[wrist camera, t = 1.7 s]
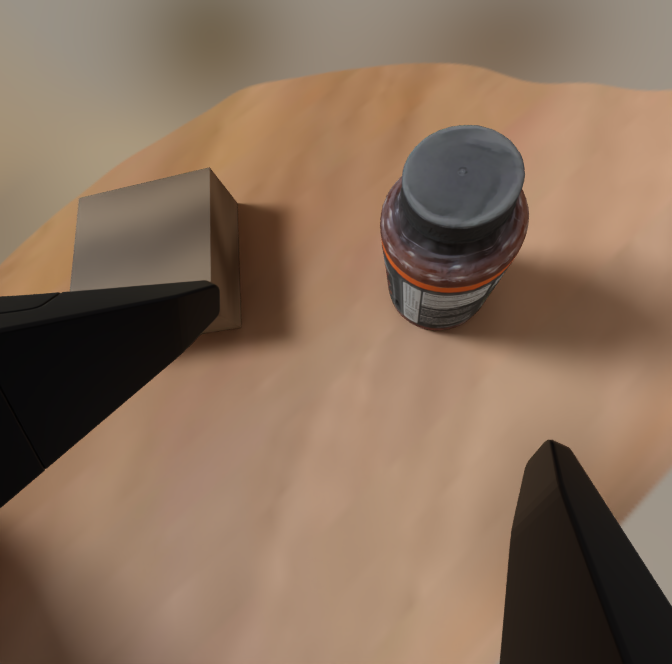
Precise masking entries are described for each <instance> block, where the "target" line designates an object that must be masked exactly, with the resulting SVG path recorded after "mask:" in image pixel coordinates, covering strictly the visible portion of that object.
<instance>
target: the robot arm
mask: <svg viewBox="0 0 672 664" xmlns="http://www.w3.org/2000/svg"><path fill="white" fill-rule="evenodd" d="M219 313H220V289H219V287H218V286H217V285H216V284H214V283H212V282H209V281H207V280H200V281H188V282H177V283H165V284H153V285H141V286H129V287H117V288H106V289H94V290H82V291H70V292H62V293H59V292H58V293H46V294H33V295H19V296H1V297H0V508H1V507H2V506H4V505H5V504H6V503H7V502H8V501H9V500H11V499H12V498H13V497H14V496H15V495H17V494H18V493H19V492H20V491H21V490H22V489H24V488H25V487H26V486H27V485H28V484H29V483H31V482H32V481H33V480H34V479H35V478H37V477H38V476H39V475H40V474H41V473H42V472H44V471H45V469H47V468H48V467H49V466H50V465H51V464H53V463H54V462H55V461H56V460H57V459H59V458H60V457H61V456H62V455H63V454H64V453H66V452H67V451H68V450H69V449H70V448H72V447H73V446H74V445H75V444H76V443H77V442H79V441H80V440H81V439H82V438H83V437H84V436H86V435H87V434H88V433H89V432H90V431H92V430H93V429H94V428H95V427H96V426H97V425H99V424H100V423H101V422H102V421H103V420H104V419H106V418H107V417H108V416H109V415H110V414H112V413H113V412H114V411H115V410H116V409H117V408H119V407H120V406H121V405H122V404H123V403H125V402H126V401H127V400H128V399H129V398H130V397H132V396H133V395H134V394H135V393H136V392H137V391H139V390H140V389H141V388H142V387H143V386H145V385H146V384H147V383H148V382H149V381H150V380H152V379H153V378H154V377H155V376H156V375H158V374H159V373H160V372H161V371H162V370H163V369H165V368H166V367H167V366H168V365H169V364H170V363H172V362H173V361H174V360H175V359H176V358H177V357H179V356H180V355H181V354H182V353H183V352H184V351H185V350H186V349H187V348H188V347H189V346H190V345H191V344H192V343H193V342H194V341H195V340H196V339H197V338H198V337H199V336H200V335H201V334H202V333H203V332H204V331H205V329H206V328H207V327H208V326H209V325H210V324H211V323H212V322H213V321H214V320H215V319H216V318H217V317H218V315H219ZM500 664H672V606H671V605H670V603H669V601H668V600H667V598H666V597H665V595H664V594H663V592H662V590H661V589H660V587H659V586H658V584H657V583H656V581H655V580H654V578H653V576H652V575H651V573H650V572H649V570H648V569H647V567H646V566H645V564H644V562H643V561H642V559H641V558H640V556H639V555H638V553H637V552H636V550H635V548H634V547H633V546H632V544H631V542H630V541H629V539H628V538H627V536H626V534H625V533H624V531H623V530H622V528H621V527H620V525H619V523H618V522H617V520H616V519H615V517H614V516H613V514H612V513H611V511H610V509H609V508H608V506H607V505H606V503H605V502H604V500H603V499H602V497H601V495H600V494H599V492H598V491H597V489H596V488H595V486H594V485H593V483H592V481H591V480H590V478H589V477H588V475H587V474H586V472H585V471H584V469H583V467H582V466H581V464H580V463H579V461H578V460H577V458H576V457H575V455H574V453H573V452H572V451H571V449H570V448H569V447H567V446H565V445H563V444H560V443H558V442H556V441H554V440H547V441H545V442H544V443H543V445H542V446H541V447H540V448H539V449H538V450H537V451H536V453H535V454H534V455H533V456H532V457H531V458H530V460H529V461H528V463H527V465H526V467H525V470H524V475H523V479H522V484H521V488H520V493H519V498H518V502H517V507H516V511H515V516H514V520H513V525H512V531H511V539H510V549H509V560H508V572H507V584H506V595H505V607H504V619H503V631H502V642H501V654H500Z"/></svg>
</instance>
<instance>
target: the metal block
mask: <svg viewBox="0 0 672 664" xmlns="http://www.w3.org/2000/svg"><path fill="white" fill-rule="evenodd" d="M200 280H207V281H209V282H212V283H214V284H216V285H217V286H218V287H219V289H220V313H219V315H218V317H217V318H216V319H215V320H214V321H213V322H212V323H211V324H210V325H209V326H208V327H207V328H206V329H205V331H204V332H203V333H209V332H215V331H222V330H228V329H235V328H241V303H240V272H239V241H238V210H237V202H236V201H235V199H234V198H233V197H232V195H231V194H230V193H229V192H228V190H227V189H226V188H225V186H224V185H223V184H222V183H221V181H220V180H219V179H218V178H217V176H216V175H215V174H214V172H213V171H212V170H211V169H210V167H209V168H205V169H201V170H197V171H192V172H188V173H184V174H180V175H175V176H171V177H167V178H163V179H158V180H154V181H150V182H146V183H141V184H137V185H133V186H129V187H124V188H120V189H116V190H112V191H107V192H103V193H99V194H95V195H90V196H86V197H82V198H79V204H78V214H77V224H76V234H75V244H74V254H73V264H72V274H71V284H70V291H82V290H94V289H106V288H117V287H129V286H141V285H153V284H165V283H177V282H188V281H200Z"/></svg>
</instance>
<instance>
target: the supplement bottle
mask: <svg viewBox="0 0 672 664" xmlns="http://www.w3.org/2000/svg"><path fill="white" fill-rule="evenodd" d="M524 178H525V171H524V163H523V159H522V156H521V154H520V152H519V151H518V150H517V148H516V147H515V145H514V144H513V143H512V142H511V141H510V140H509V139H508V138H506V137H505V136H504V135H502V134H500V133H499V132H497V131H495V130H493V129H489V128H486V127H482V126H478V125H462V126H461V125H459V126H452V127H448V128H445V129H442V130H439V131H437V132H435V133H433V134H431V135H429V136H428V137H426V138H425V139H424V140H422V141H421V142H420V143H419V144H418V145H417V146H416V147H415V148H414V150H413V151H412V152H411V154H410V155H409V157H408V159H407V161H406V163H405V165H404V169H403V174H402V177H400V178H399V180H398V181H397V182H396V183H395V184H394V186H393V187H392V188H391V189H390V191H389V193H388V195H387V196H386V199H385V202H384V204H383V207H382V212H381V218H380V220H381V222H380V229H381V238H382V248H383V254H384V261H385V266H386V273H387V280H388V288H389V292H390V296H391V299H392V302H393V304H394V306H395V308H396V309H397V311H398V312H399V313H400V314H401V316H402V317H404V318H405V319H406V320H407V321H409V322H410V323H412V324H414V325H416V326H418V327H420V328H424V329H429V330H446V329H450V328H454V327H456V326H459V325H461V324H463V323H465V322H466V321H467V320H468V319H470V318H471V317H472V316H473V315H474V314H475V313H476V312H477V311H478V310H479V309H480V308H481V306H482V305H483V303H484V302H485V300H486V299H487V297H488V296H489V295H490V293H491V292H492V290H493V289H494V287H495V286H496V285H497V283H498V282H499V280H500V279H501V277H502V276H503V274H504V273H505V271H506V270H507V268H508V267H509V266H510V265H511V263H512V261H513V260H514V258H515V257H516V255H517V254H518V252H519V250H520V248H521V246H522V244H523V241H524V239H525V236H526V233H527V228H528V222H529V209H528V204H527V200H526V197H525V194H524V192H523V190H522V187H523V183H524Z"/></svg>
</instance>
